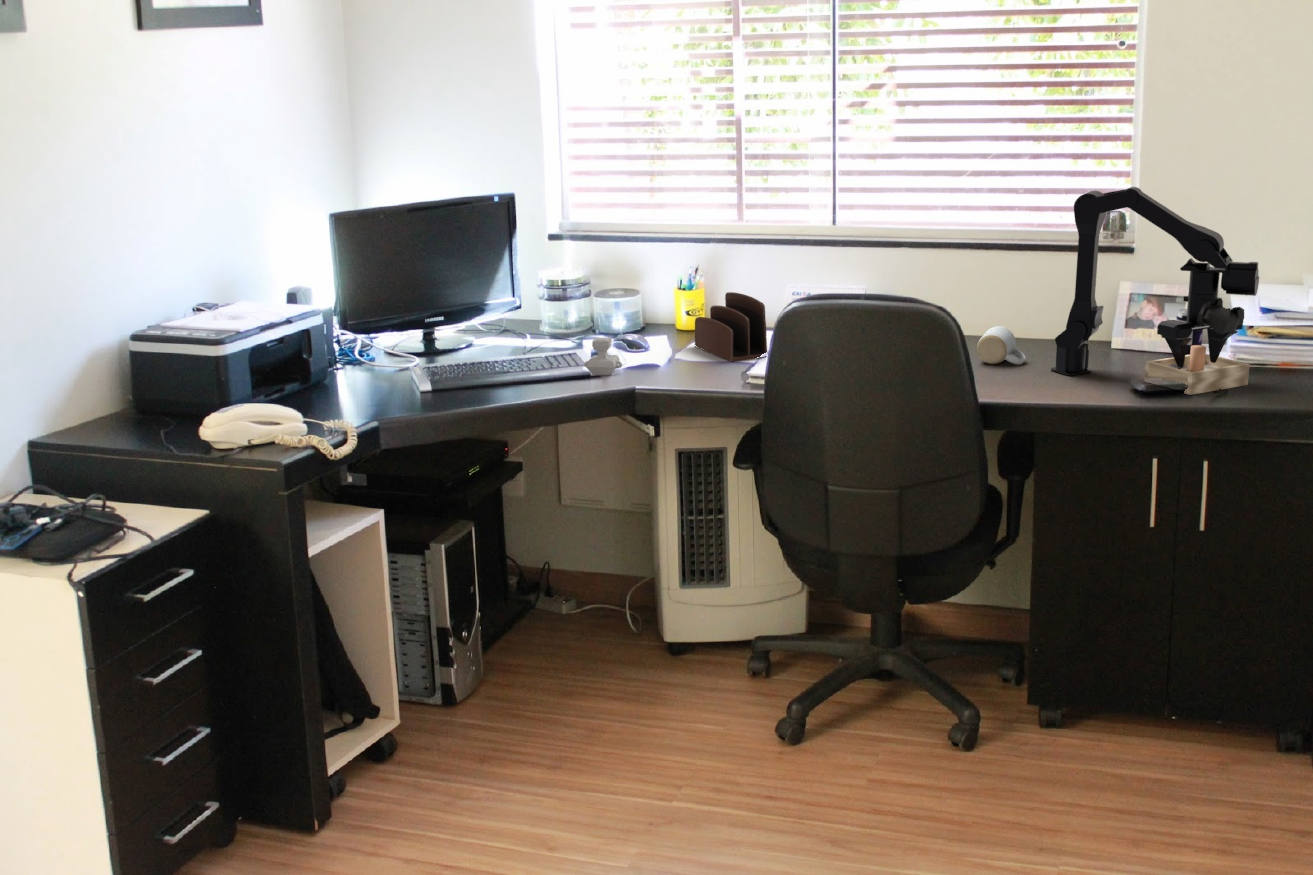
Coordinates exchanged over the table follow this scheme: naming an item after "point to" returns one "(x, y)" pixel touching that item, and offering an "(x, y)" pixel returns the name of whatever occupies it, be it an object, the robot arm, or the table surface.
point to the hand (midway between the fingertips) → (1196, 365)
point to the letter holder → (734, 329)
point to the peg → (1197, 358)
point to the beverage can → (1194, 335)
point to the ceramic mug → (999, 346)
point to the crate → (1201, 374)
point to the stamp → (602, 358)
